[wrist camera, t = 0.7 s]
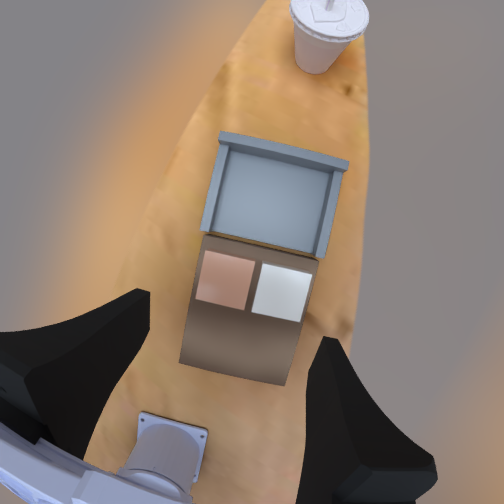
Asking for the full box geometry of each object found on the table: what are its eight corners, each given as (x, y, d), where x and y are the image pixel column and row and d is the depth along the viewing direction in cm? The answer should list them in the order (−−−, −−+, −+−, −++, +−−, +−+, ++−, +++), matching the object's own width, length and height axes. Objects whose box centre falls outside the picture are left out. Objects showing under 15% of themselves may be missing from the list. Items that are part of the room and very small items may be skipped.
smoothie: (269, 62, 29) (276, -28, 15) (304, 26, 28) (326, -62, 14) (321, 97, 29) (360, 19, 15) (354, 59, 28) (400, -20, 15)
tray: (318, 255, 30) (327, 260, 26) (204, 229, 30) (196, 230, 26) (337, 169, 30) (349, 161, 26) (224, 142, 30) (220, 130, 26)
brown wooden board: (282, 372, 31) (284, 386, 28) (185, 351, 31) (178, 362, 28) (313, 257, 30) (318, 261, 27) (208, 233, 30) (203, 234, 27)
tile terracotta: (244, 304, 28) (244, 310, 26) (199, 293, 28) (195, 298, 26) (255, 258, 27) (255, 261, 25) (209, 248, 27) (205, 250, 25)
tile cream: (296, 315, 28) (299, 322, 26) (251, 305, 28) (251, 311, 26) (308, 271, 27) (312, 274, 25) (262, 260, 27) (262, 263, 25)
